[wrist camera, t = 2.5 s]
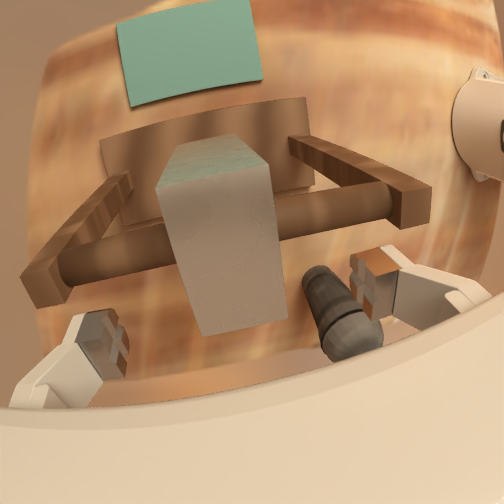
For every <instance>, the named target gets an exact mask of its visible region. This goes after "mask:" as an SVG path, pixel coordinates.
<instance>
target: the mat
mask: <svg viewBox="0 0 504 504" xmlns="http://www.w3.org/2000/svg"><path fill="white" fill-rule="evenodd" d="M116 27H117V34H118V40H119V47H120V53H121V59H122V64H123V70H124V76H125V81H126V86H127V91H128V96H129V101H130V106H131V107H134V106H137V105H141V104H144V103H148V102H151V101H155V100H159V99H163V98H167V97H171V96H175V95H179V94H184V93H188V92H193V91H197V90H202V89H207V88H213V87H218V86H224V85H230V84H236V83H242V82H249V81H257V80H263V74H262V68H261V63H260V57H259V51H258V45H257V40H256V34H255V29H254V23H253V18H252V12H251V7H250V2H249V0H217V1H210V2H204V3H198V4H192V5H187V6H182V7H177V8H172V9H168V10H164V11H159V12H155V13H151V14H148V15H144V16H140V17H137V18H134V19H130V20H127V21H124V22H121V23H118V24H116Z"/></svg>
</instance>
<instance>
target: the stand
mask: <svg viewBox="0 0 504 504" xmlns="http://www.w3.org/2000/svg"><path fill="white" fill-rule="evenodd" d="M232 133H234V134H236V135H237V136H238V137H239V138H240V139H241V140H242V141H243V142H245V143H246V144H247V145H248V146H249V147H250V148H251V149H252V150H253V151H255V152H256V153H257V154H258V155H259V156H260V157H261V158H262V159H263V160H264V161H265V162H266V163H268V164H269V171H270V178H271V185H272V192H273V193H274V192H279V191H285V190H290V189H295V188H301V187H307V186H312V185H315V176H314V169H315V170H316V171H318V172H319V173H321V174H322V175H324V176H326V177H327V178H329V179H330V180H332V181H333V182H335V183H336V184H338V185H339V186H340V188H334V189H328V190H322V191H317V192H311V193H306V194H300V195H295V196H290V197H284V198H279V199H274V206H275V214H276V221H277V229H278V237H279V241H282V240H287V239H291V238H296V237H301V236H305V235H310V234H315V233H319V232H324V231H329V230H333V229H338V228H343V227H347V226H352V225H357V224H361V223H366V222H371V221H376V220H380V219H387V220H388V221H389V222H391V223H392V224H393V225H395V226H396V227H397V228H399V229H400V230H401V229H406V228H410V227H414V226H418V225H423V224H427V223H429V220H430V209H431V196H432V187H431V186H429V185H427V184H425V183H423V182H421V181H419V180H417V179H415V178H413V177H410V176H408V175H406V174H404V173H402V172H400V171H398V170H395V169H393V168H391V167H389V166H387V165H384V164H382V163H380V162H377V161H375V160H373V159H370V158H368V157H366V156H363V155H361V154H358V153H356V152H353V151H351V150H348V149H346V148H343V147H341V146H338V145H335V144H333V143H330V142H327V141H325V140H322V139H319V138H316V137H314V136H311V135H310V129H309V120H308V112H307V105H306V97H301V98H291V99H282V100H274V101H266V102H259V103H252V104H246V105H240V106H234V107H228V108H222V109H217V110H212V111H207V112H202V113H197V114H193V115H188V116H184V117H180V118H175V119H171V120H167V121H163V122H159V123H156V124H152V125H148V126H145V127H141V128H138V129H134V130H131V131H127V132H124V133H121V134H118V135H114V136H111V137H108V138H105V139H102V140H100V141H99V143H100V147H101V151H102V155H103V159H104V163H105V166H106V170H107V173H108V177H109V179H108V180H106V181H105V182H104V183H103V184H102V185H101V186H100V187H99V188H98V189H97V190H96V191H95V192H94V193H93V194H92V195H91V196H90V197H89V198H88V199H87V200H86V201H85V202H84V203H83V204H82V205H81V206H80V207H79V208H78V209H77V210H76V211H75V212H74V213H73V215H72V216H71V217H70V218H69V219H68V220H67V221H66V222H65V223H64V224H63V225H62V226H61V228H60V229H59V230H58V231H57V232H56V233H55V234H54V235H53V237H52V238H51V239H50V240H49V241H48V242H47V243H46V245H45V246H44V247H43V248H42V249H41V251H40V252H39V253H38V254H37V255H36V257H35V258H34V259H33V260H32V262H31V263H30V264H29V265H28V267H27V268H26V269H25V270H24V272H23V273H22V274H21V276H20V279H21V280H22V283H23V285H24V286H25V288H26V290H27V292H28V294H29V296H30V298H31V299H32V301H33V303H34V305H35V307H36V308H37V309H39V308H44V307H49V306H54V305H59V304H64V303H65V302H66V300H67V299H68V297H69V295H70V293H71V291H72V289H73V287H74V286H78V285H83V284H87V283H91V282H96V281H100V280H105V279H109V278H114V277H118V276H123V275H127V274H132V273H136V272H141V271H145V270H150V269H154V268H159V267H163V266H168V265H172V264H177V262H176V259H175V256H174V253H173V249H172V246H171V243H170V239H169V236H168V233H167V229H166V226H165V223H163V224H159V225H155V226H151V227H147V228H143V229H139V230H135V231H131V232H127V233H123V234H119V235H115V236H111V237H108V238H104V239H101V238H102V236H103V234H104V233H105V231H106V230H107V228H108V226H109V225H110V223H111V222H112V220H113V218H114V217H115V215H116V214H117V212H118V211H119V213H120V216H121V219H122V222H123V225H124V226H127V225H131V224H135V223H139V222H143V221H147V220H151V219H155V218H159V217H163V216H162V212H161V208H160V205H159V201H158V198H157V194H156V190H155V188H156V186H157V184H158V182H159V180H160V178H161V176H162V173H163V171H164V169H165V167H166V165H167V163H168V161H169V159H170V157H171V155H172V153H173V151H174V149H175V148H176V146H177V145H180V144H184V143H189V142H193V141H198V140H202V139H207V138H212V137H217V136H222V135H227V134H232Z"/></svg>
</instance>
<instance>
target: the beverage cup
mask: <svg viewBox="0 0 504 504" xmlns="http://www.w3.org/2000/svg"><path fill="white" fill-rule="evenodd" d="M302 285H303V287H304V292H305V295H306V298H307V300H308V303H309V306H310V309H311V311H312V314H313V317H314V320H315V322H316V325H317V328H318V331H319V339H320V342H321V348H322V350H323V352H324V353H325V354H326V355H327V356H328V358H329V359H330V360H331V361H332V362H334V363H336V362H339V361H342V360H345V359H348V358H351V357H354V356H357V355H360V354H363V353H366V352H369V351H371V350H374V349H377V348H380V347H382V345H383V339H384V334H383V329H382V325H381V323H380V321H379V319H377V320H374V321H370V319H369V318H368V316H367V315H366V314H365V312H364V311H363V310H362V308H363V304H361V303H359V302H357V301H356V300H355V299H354V297H353V295H352V293H351V290H350V289H349V288H348V287H347V286H346V285H345V284H344V283H343V282H342V281H341V280H340V279H339V278H338V276H337V275H336V274H335V273H334V272H332V271H331V270H330V269H329V268H328V267H326V266H320V265H319V266H315V267H313V268H311V269H309V270H308V271H307V272H306V273H305V275H304V277H303V280H302Z"/></svg>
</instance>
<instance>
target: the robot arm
mask: <svg viewBox="0 0 504 504" xmlns="http://www.w3.org/2000/svg"><path fill="white" fill-rule="evenodd" d="M452 129H453V137H454V141H455V145H456V148H457V150H458V153H459V154H460V156H461V158H462V159H463V160H464V162H465V163H466V164H467V165H468V166H469V167H470V169H471V172H472V175H473V177H474V179H475V180H476V181H479V182H482V181H485V180H487V179H489V178H494V179H496V180H499V181H502V182H504V81H503V80H501V79H500V78H498V77H496V76H495V75H493V74H492V73H490V72H488V71H486V70H485V69H483V68H481V67H474V68H473V70H472V73H471V76H470V79H469V80H468V82H467V83H466V84H464V85H463V87H462V88H461V89H460V91H459V93H458V95H457V97H456V100H455V103H454V108H453V115H452ZM350 267H351V268H352V269H353V272H352V273H351V275H350V276H349V279H350V289H351V293H352V295H353V297H354V299H355V300H356V301H357V302H359V303H361V304H363V308H362V310H363V311H364V312H365V314H366V315H367V316H368V318H369V319H370V321H374V320H377V319H381V318H384V317H387V316H390V315H393V316H394V317H396V318H398V319H400V320H402V321H403V322H405V323H407V324H409V325H411V326H413V327H415V328H417V329H419V330H421V331H420V332H417V333H415V334H413V335H410V336H408V337H405V338H403V339H400V340H398V341H395V342H393V343H390V344H388V345H385V346H382V347H380V348H377V349H374V350H371V351H369V352H366V353H363V354H360V355H357V356H354V357H351V358H348V359H345V360H342V361H339V362H336V363H333V364H329V365H326V366H323V367H320V368H316V369H313V370H309V371H306V372H302V373H299V374H295V375H291V376H287V377H283V378H280V379H276V380H272V381H268V382H263V383H259V384H255V385H251V386H246V387H242V388H237V389H232V390H227V391H222V392H217V393H212V394H207V395H201V396H195V397H189V398H182V399H175V400H168V401H161V402H153V403H144V404H134V405H124V406H112V407H96V408H86V407H87V405H88V404H89V402H90V401H91V399H92V398H93V397H94V395H95V394H96V392H97V391H98V389H99V388H100V386H101V385H102V384H103V381H105V380H113V379H120V378H125V373H126V367H127V362H126V360H125V359H124V358H125V357H126V356H127V355H128V354H129V348H130V347H129V339H128V336H127V333H126V331H125V329H124V327H122V326H121V325H119V324H118V319H119V317H118V315H117V313H116V312H115V310H114V309H112V308H109V309H103V310H98V311H92V312H87V313H86V312H85V313H80V314H76V315H74V316H73V318H72V320H71V323H70V325H69V327H68V330H67V332H66V334H65V337H64V339H63V342H62V344H61V345H58V346H57V347H56V348H55V349H54V350H52V351H51V352H50V353H49V354H48V355H47V356H46V357H45V358H44V359H43V360H42V361H41V362H40V363H39V364H38V365H37V366H35V368H34V369H32V370H31V371H30V372H29V373H28V374H27V375H26V376H25V377H24V378H23V379H22V380H21V381H20V382H19V383H18V384H17V385H16V388H15V390H14V393H13V396H12V399H11V401H10V404H9V407H0V504H504V291H502V292H500V293H498V294H497V295H495V296H492V295H491V294H489V293H488V292H487V291H486V290H485V289H484V288H483V287H482V286H481V285H479V284H478V283H477V282H476V281H475V280H472V279H468V278H465V277H462V276H458V275H455V274H451V273H448V272H445V271H441V270H438V269H434V268H431V267H427V266H424V265H420V264H416V265H414V264H413V263H412V262H411V261H410V260H409V259H407V258H406V257H405V256H404V255H403V254H402V253H401V252H399V251H398V250H397V249H396V248H395V247H394V246H392V245H390V244H386V245H383V246H380V247H376V248H373V249H370V250H366V251H363V252H359V253H355V254H352V255H351V257H350Z"/></svg>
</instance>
